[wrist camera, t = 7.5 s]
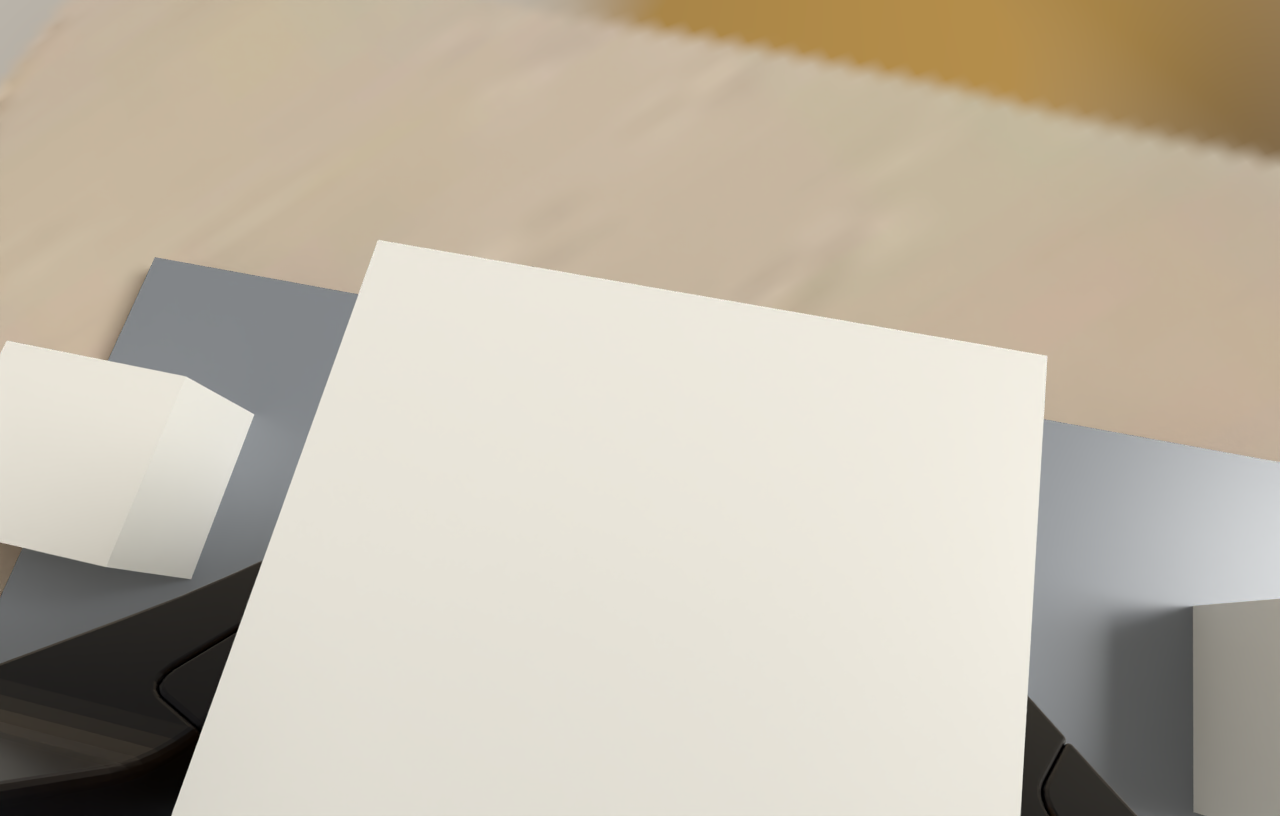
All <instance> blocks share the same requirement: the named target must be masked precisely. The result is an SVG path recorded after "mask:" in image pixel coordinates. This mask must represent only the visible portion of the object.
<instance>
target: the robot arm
mask: <svg viewBox="0 0 1280 816" xmlns="http://www.w3.org/2000/svg"><path fill="white" fill-rule="evenodd" d="M262 562H263V561H259V562H257V563H255V564H253V565H250V566H248V567H246V568H244V569H242V570H239V571H237V572H235V573H233V574H230V575H228V576H226V577H223V578H221V579H219V580H216V581H214V582H212V583H209V584H207V585H205V586H202V587H200V588H198V589H195V590H193V591H191V592H188V593H186V594H184V595H181V596H179V597H176V598H174V599H171V600H168V601H166V602H163V603H161V604H158V605H156V606H153V607H150V608H148V609H145V610H143V611H140V612H137V613H135V614H132V615H130V616H127V617H124V618H122V619H119V620H116V621H114V622H111V623H108V624H106V625H103V626H100V627H97V628H95V629H92V630H89V631H87V632H84V633H81V634H78V635H76V636H73V637H70V638H68V639H65V640H62V641H59V642H57V643H54V644H51V645H49V646H46V647H43V648H41V649H38V650H35V651H32V652H30V653H27V654H24V655H22V656H19V657H16V658H13V659H11V660H8V661H5V662H3V663H0V816H171V815H172V812H173V809H174V807H175V804H176V801H177V798H178V796H179V793H180V790H181V787H182V784H183V782H184V779H185V776H186V773H187V770H188V768H189V765H190V762H191V759H192V757H193V754H194V751H195V748H196V745H197V743H198V740H199V737H200V734H201V732H202V729H203V726H204V723H205V720H206V718H207V715H208V712H209V709H210V706H211V704H212V701H213V698H214V695H215V693H216V690H217V687H218V684H219V681H220V679H221V676H222V673H223V670H224V667H225V665H226V662H227V659H228V656H229V654H230V651H231V648H232V645H233V642H234V640H235V637H236V634H237V631H238V628H239V626H240V623H241V620H242V617H243V615H244V612H245V609H246V606H247V603H248V601H249V598H250V595H251V592H252V590H253V587H254V584H255V581H256V578H257V576H258V573H259V570H260V567H261V564H262ZM1065 743H1066V738H1065V736H1064V735H1063V734H1062V733H1061V732H1060V731H1059V729H1058V728H1057V727H1056V726H1055V725H1054V724H1053V723H1052V722H1051V721H1050V719H1049V718H1048V717H1047V716H1046V715H1045V714H1044V713H1043V712H1042V711H1041V709H1040V708H1039V707H1038V706H1037V705H1036V704H1035V703H1034V702H1033V701H1032V699H1031V698H1030V697H1029V696H1027V713H1026V730H1025V747H1024V764H1023V781H1022V798H1021V815H1020V816H1138V815H1137V814H1136V813H1135V812H1134V811H1133V810H1132V809H1131V808H1130V807H1129V806H1128V805H1127V804H1126V802H1125V801H1124V800H1123V799H1122V798H1121V797H1120V796H1119V795H1118V794H1117V793H1116V792H1115V791H1114V790H1113V789H1112V787H1111V786H1110V785H1109V784H1108V783H1107V782H1106V781H1105V780H1104V779H1103V778H1102V777H1101V776H1100V775H1099V774H1098V772H1097V771H1096V770H1095V769H1094V768H1093V767H1092V766H1091V765H1090V764H1089V762H1088V761H1087V760H1086V759H1085V758H1084V757H1083V756H1082V755H1081V754H1080V752H1079V751H1078V750H1077V749H1076V748H1075V747H1074V746H1073V745H1072V744H1070V743H1067V744H1065Z"/></svg>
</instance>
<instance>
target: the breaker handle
mask: <svg viewBox="0 0 1280 816" xmlns="http://www.w3.org/2000/svg"><path fill="white" fill-rule="evenodd" d="M1046 371H1047V356H1045V355H1039V354H1033V353H1028V352H1022V351H1016V350H1010V349H1005V348H999V347H993V346H987V345H982V344H976V343H970V342H964V341H958V340H953V339H947V338H941V337H935V336H930V335H924V334H918V333H912V332H907V331H901V330H895V329H889V328H883V327H878V326H872V325H866V324H860V323H855V322H849V321H843V320H837V319H832V318H826V317H820V316H814V315H808V314H803V313H797V312H791V311H785V310H780V309H774V308H768V307H762V306H756V305H751V304H745V303H739V302H733V301H728V300H722V299H716V298H710V297H705V296H699V295H693V294H687V293H681V292H676V291H670V290H664V289H658V288H653V287H647V286H641V285H635V284H630V283H624V282H618V281H612V280H606V279H601V278H595V277H589V276H583V275H578V274H572V273H566V272H560V271H555V270H549V269H543V268H537V267H531V266H526V265H520V264H514V263H508V262H503V261H497V260H491V259H485V258H480V257H474V256H468V255H462V254H456V253H451V252H445V251H439V250H433V249H428V248H422V247H416V246H410V245H405V244H399V243H393V242H387V241H381V240H378V241H377V244H376V247H375V250H374V253H373V255H372V258H371V261H370V264H369V267H368V269H367V272H366V275H365V278H364V280H363V283H362V286H361V289H360V292H359V294H358V297H357V300H356V303H355V306H354V308H353V311H352V314H351V317H350V319H349V322H348V325H347V328H346V331H345V333H344V336H343V339H342V342H341V344H340V347H339V350H338V353H337V356H336V358H335V361H334V364H333V367H332V370H331V372H330V375H329V378H328V381H327V383H326V386H325V389H324V392H323V395H322V397H321V400H320V403H319V406H318V409H317V411H316V414H315V417H314V420H313V422H312V425H311V428H310V431H309V434H308V436H307V439H306V442H305V445H304V448H303V450H302V453H301V456H300V459H299V461H298V464H297V467H296V470H295V473H294V475H293V478H292V481H291V484H290V486H289V489H288V492H287V495H286V498H285V500H284V503H283V506H282V509H281V512H280V514H279V517H278V520H277V523H276V525H275V528H274V531H273V534H272V537H271V539H270V542H269V545H268V548H267V551H266V553H265V556H264V559H263V562H262V564H261V567H260V570H259V573H258V576H257V578H256V581H255V584H254V587H253V590H252V592H251V595H250V598H249V601H248V603H247V606H246V609H245V612H244V615H243V617H242V620H241V623H240V626H239V628H238V631H237V634H236V637H235V640H234V642H233V645H232V648H231V651H230V654H229V656H228V659H227V662H226V665H225V667H224V670H223V673H222V676H221V679H220V681H219V684H218V687H217V690H216V693H215V695H214V698H213V701H212V704H211V706H210V709H209V712H208V715H207V718H206V720H205V723H204V726H203V729H202V732H201V734H200V737H199V740H198V743H197V745H196V748H195V751H194V754H193V757H192V759H191V762H190V765H189V768H188V770H187V773H186V776H185V779H184V782H183V784H182V787H181V790H180V793H179V796H178V798H177V801H176V804H175V807H174V809H173V812H172V815H171V816H1020V815H1021V798H1022V781H1023V764H1024V747H1025V730H1026V713H1027V696H1028V679H1029V662H1030V644H1031V627H1032V610H1033V593H1034V576H1035V559H1036V542H1037V525H1038V508H1039V491H1040V474H1041V457H1042V439H1043V422H1044V405H1045V388H1046Z"/></svg>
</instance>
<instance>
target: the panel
mask: <svg viewBox="0 0 1280 816" xmlns="http://www.w3.org/2000/svg"><path fill="white" fill-rule="evenodd" d="M357 297H358V294H353V293H348V292H342V291H337V290H331V289H326V288H320V287H315V286H309V285H304V284H299V283H293V282H288V281H282V280H277V279H271V278H266V277H260V276H255V275H249V274H244V273H238V272H233V271H227V270H222V269H216V268H211V267H205V266H200V265H194V264H189V263H183V262H178V261H172V260H167V259H161V258H156V257H155V258H154V261H153V263H152V265H151V267H150V269H149V272H148V274H147V276H146V278H145V280H144V283H143V285H142V287H141V289H140V291H139V294H138V296H137V298H136V300H135V302H134V305H133V307H132V309H131V311H130V313H129V316H128V318H127V320H126V322H125V324H124V327H123V329H122V331H121V333H120V335H119V338H118V340H117V342H116V344H115V346H114V349H113V351H112V353H111V355H110V357H109V360H108V361H106V360H101V359H96V358H91V357H86V356H81V355H76V354H71V353H66V352H61V351H56V350H51V349H47V348H42V347H37V346H32V345H27V344H22V343H17V342H12V341H6V343H5V345H4V347H3V349H2V351H1V353H0V542H1V543H5V544H9V545H14V546H18V547H22V548H23V549H22V551H21V553H20V555H19V557H18V560H17V562H16V564H15V566H14V568H13V571H12V573H11V575H10V577H9V579H8V582H7V584H6V586H5V588H4V590H3V593H2V595H1V597H0V663H3V662H5V661H8V660H11V659H13V658H16V657H19V656H22V655H24V654H27V653H30V652H32V651H35V650H38V649H41V648H43V647H46V646H49V645H51V644H54V643H57V642H59V641H62V640H65V639H68V638H70V637H73V636H76V635H78V634H81V633H84V632H87V631H89V630H92V629H95V628H97V627H100V626H103V625H106V624H108V623H111V622H114V621H116V620H119V619H122V618H124V617H127V616H130V615H132V614H135V613H137V612H140V611H143V610H145V609H148V608H150V607H153V606H156V605H158V604H161V603H163V602H166V601H168V600H171V599H174V598H176V597H179V596H181V595H184V594H186V593H188V592H191V591H193V590H195V589H198V588H200V587H202V586H205V585H207V584H209V583H212V582H214V581H216V580H219V579H221V578H223V577H226V576H228V575H230V574H233V573H235V572H237V571H239V570H242V569H244V568H246V567H248V566H250V565H253V564H255V563H257V562H259V561H263V559H264V556H265V553H266V551H267V548H268V545H269V542H270V539H271V537H272V534H273V531H274V528H275V525H276V523H277V520H278V517H279V514H280V512H281V509H282V506H283V503H284V500H285V498H286V495H287V492H288V489H289V486H290V484H291V481H292V478H293V475H294V473H295V470H296V467H297V464H298V461H299V459H300V456H301V453H302V450H303V448H304V445H305V442H306V439H307V436H308V434H309V431H310V428H311V425H312V422H313V420H314V417H315V414H316V411H317V409H318V406H319V403H320V400H321V397H322V395H323V392H324V389H325V386H326V383H327V381H328V378H329V375H330V372H331V370H332V367H333V364H334V361H335V358H336V356H337V353H338V350H339V347H340V344H341V342H342V339H343V336H344V333H345V331H346V328H347V325H348V322H349V319H350V317H351V314H352V311H353V308H354V306H355V303H356V300H357ZM1028 696H1029V697H1030V698H1031V699H1032V701H1033V702H1034V703H1035V704H1036V705H1037V706H1038V707H1039V708H1040V709H1041V711H1042V712H1043V713H1044V714H1045V715H1046V716H1047V717H1048V718H1049V719H1050V721H1051V722H1052V723H1053V724H1054V725H1055V726H1056V727H1057V728H1058V729H1059V731H1060V732H1061V733H1062V734H1063V735H1064V736H1065V738H1066V743H1065V744H1067V743H1070V744H1072V745H1073V746H1074V747H1075V748H1076V749H1077V750H1078V751H1079V752H1080V754H1081V755H1082V756H1083V757H1084V758H1085V759H1086V760H1087V761H1088V762H1089V764H1090V765H1091V766H1092V767H1093V768H1094V769H1095V770H1096V771H1097V772H1098V774H1099V775H1100V776H1101V777H1102V778H1103V779H1104V780H1105V781H1106V782H1107V783H1108V784H1109V785H1110V786H1111V787H1112V789H1113V790H1114V791H1115V792H1116V793H1117V794H1118V795H1119V796H1120V797H1121V798H1122V799H1123V800H1124V801H1125V802H1126V804H1127V805H1128V806H1129V807H1130V808H1131V809H1132V810H1133V811H1134V812H1135V813H1136V814H1137V815H1138V816H1280V462H1275V461H1270V460H1264V459H1259V458H1253V457H1248V456H1242V455H1237V454H1231V453H1226V452H1220V451H1215V450H1209V449H1204V448H1198V447H1193V446H1187V445H1182V444H1176V443H1171V442H1165V441H1160V440H1155V439H1149V438H1144V437H1138V436H1133V435H1127V434H1122V433H1116V432H1111V431H1105V430H1100V429H1094V428H1089V427H1083V426H1078V425H1072V424H1067V423H1061V422H1056V421H1050V420H1045V419H1044V422H1043V439H1042V457H1041V474H1040V491H1039V508H1038V525H1037V542H1036V559H1035V576H1034V593H1033V610H1032V627H1031V644H1030V662H1029V679H1028Z"/></svg>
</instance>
